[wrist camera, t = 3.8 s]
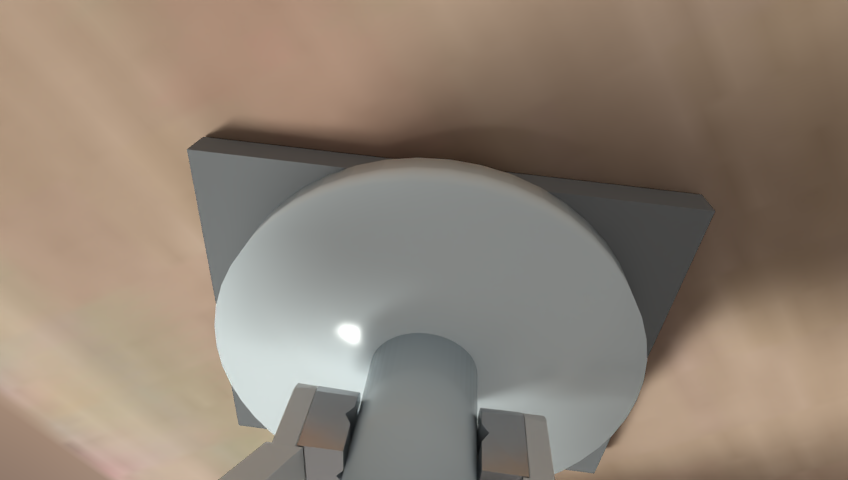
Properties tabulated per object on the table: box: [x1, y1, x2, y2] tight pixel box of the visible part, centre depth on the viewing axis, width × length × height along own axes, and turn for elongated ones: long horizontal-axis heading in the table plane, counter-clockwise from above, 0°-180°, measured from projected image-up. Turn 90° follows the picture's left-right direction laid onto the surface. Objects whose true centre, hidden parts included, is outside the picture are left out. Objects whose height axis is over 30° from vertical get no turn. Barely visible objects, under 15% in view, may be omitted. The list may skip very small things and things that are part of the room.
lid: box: [215, 158, 647, 480], centre depth 12 cm, size 11×11×5 cm
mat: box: [187, 137, 715, 473], centre depth 14 cm, size 12×10×1 cm
